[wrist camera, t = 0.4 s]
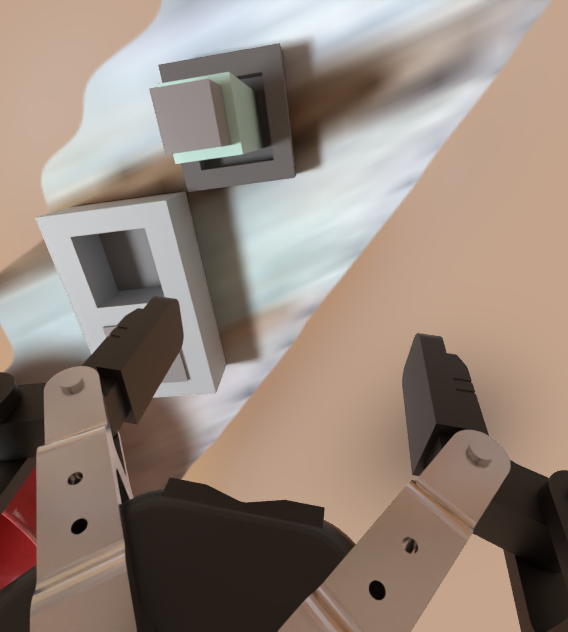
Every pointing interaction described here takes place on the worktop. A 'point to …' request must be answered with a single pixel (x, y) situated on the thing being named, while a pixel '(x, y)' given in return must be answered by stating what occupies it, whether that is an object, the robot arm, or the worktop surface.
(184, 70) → the grey square tray
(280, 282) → the worktop surface
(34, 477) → the mixing bowl
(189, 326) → the grey divided tray
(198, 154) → the plug
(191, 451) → the worktop surface
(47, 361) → the worktop surface
